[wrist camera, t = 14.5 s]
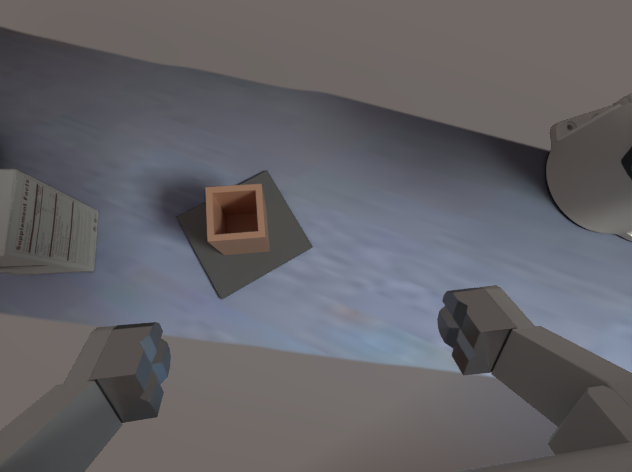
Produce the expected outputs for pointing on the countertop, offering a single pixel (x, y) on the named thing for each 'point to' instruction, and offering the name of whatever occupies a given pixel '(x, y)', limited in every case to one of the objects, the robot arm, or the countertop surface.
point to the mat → (247, 267)
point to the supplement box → (43, 228)
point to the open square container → (237, 219)
